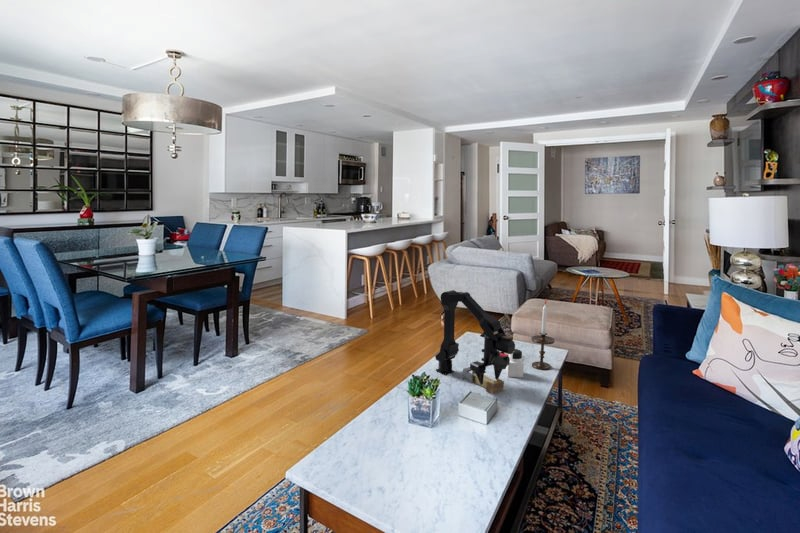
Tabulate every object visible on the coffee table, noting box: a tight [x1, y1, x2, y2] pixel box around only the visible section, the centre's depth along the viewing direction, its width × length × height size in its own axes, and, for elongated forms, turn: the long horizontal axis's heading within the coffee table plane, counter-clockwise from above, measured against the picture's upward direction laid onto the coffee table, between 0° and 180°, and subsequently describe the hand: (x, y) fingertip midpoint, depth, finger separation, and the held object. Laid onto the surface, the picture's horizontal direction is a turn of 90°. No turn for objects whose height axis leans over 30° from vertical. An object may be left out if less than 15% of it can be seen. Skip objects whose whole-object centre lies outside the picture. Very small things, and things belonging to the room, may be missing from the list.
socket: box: [485, 378, 505, 395], centre depth 189 cm, size 4×7×4 cm, turn 123°
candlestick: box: [531, 298, 556, 371], centre depth 215 cm, size 11×11×35 cm
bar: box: [473, 373, 497, 389], centre depth 195 cm, size 13×4×3 cm, turn 33°
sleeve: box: [462, 366, 475, 384], centre depth 201 cm, size 6×7×5 cm
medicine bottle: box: [505, 348, 525, 378], centre depth 207 cm, size 7×7×12 cm
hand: (489, 382), depth 192 cm, fingers open, 9 cm apart
